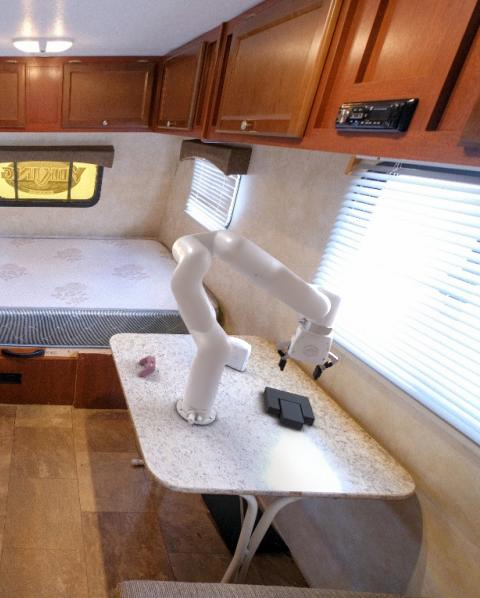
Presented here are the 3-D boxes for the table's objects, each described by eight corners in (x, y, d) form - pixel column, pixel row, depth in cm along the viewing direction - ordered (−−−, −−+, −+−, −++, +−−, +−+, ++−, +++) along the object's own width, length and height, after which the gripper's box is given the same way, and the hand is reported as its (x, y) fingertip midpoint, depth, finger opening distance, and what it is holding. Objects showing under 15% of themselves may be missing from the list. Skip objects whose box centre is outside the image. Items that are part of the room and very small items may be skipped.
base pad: (312, 425, 120) (315, 418, 118) (266, 413, 124) (268, 406, 123) (305, 403, 130) (308, 397, 129) (263, 392, 134) (265, 386, 133)
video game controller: (147, 381, 138) (158, 369, 135) (137, 375, 137) (148, 363, 134) (147, 367, 147) (157, 355, 144) (138, 361, 146) (148, 349, 143)
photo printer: (246, 368, 148) (254, 343, 143) (242, 373, 145) (250, 346, 140) (221, 358, 154) (229, 332, 149) (217, 361, 151) (224, 336, 146)
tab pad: (301, 430, 117) (304, 423, 116) (281, 424, 119) (283, 417, 118) (296, 410, 126) (299, 404, 125) (277, 405, 128) (280, 399, 127)
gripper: (287, 324, 108) (269, 371, 115) (353, 339, 102) (330, 388, 109) (284, 314, 114) (267, 359, 121) (346, 328, 109) (325, 375, 116)
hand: (297, 373), depth 115 cm, fingers open, 9 cm apart
